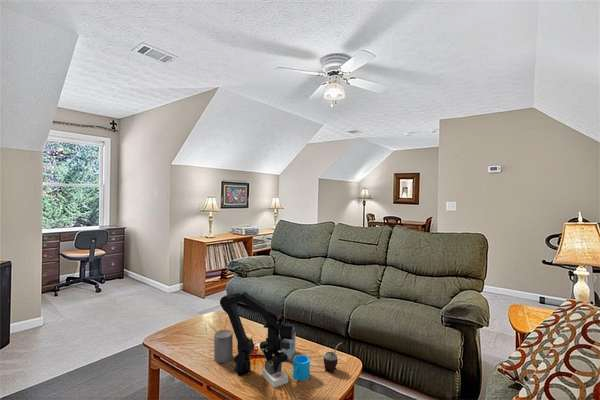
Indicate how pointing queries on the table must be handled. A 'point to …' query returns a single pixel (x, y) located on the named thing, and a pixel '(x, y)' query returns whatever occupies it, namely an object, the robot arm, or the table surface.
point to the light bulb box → (290, 348)
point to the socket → (275, 378)
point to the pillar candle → (223, 346)
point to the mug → (301, 367)
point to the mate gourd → (330, 360)
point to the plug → (271, 367)
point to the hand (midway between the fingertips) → (272, 368)
